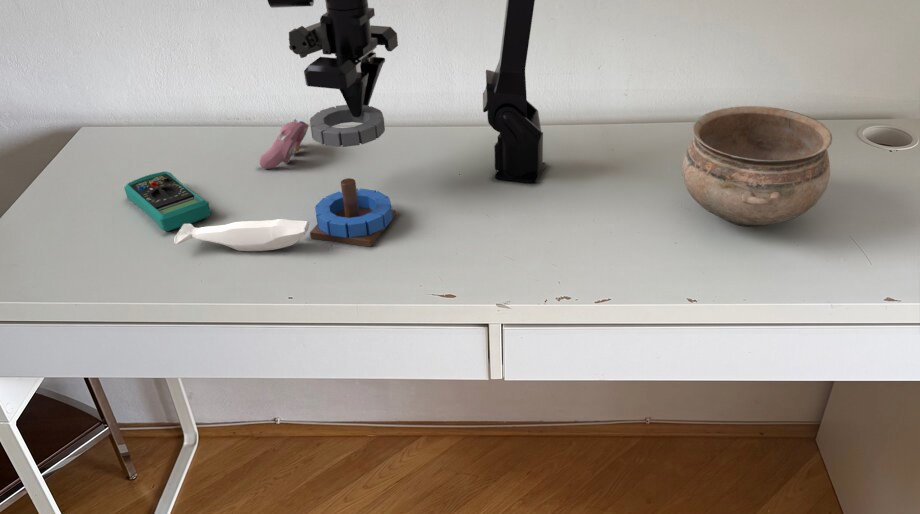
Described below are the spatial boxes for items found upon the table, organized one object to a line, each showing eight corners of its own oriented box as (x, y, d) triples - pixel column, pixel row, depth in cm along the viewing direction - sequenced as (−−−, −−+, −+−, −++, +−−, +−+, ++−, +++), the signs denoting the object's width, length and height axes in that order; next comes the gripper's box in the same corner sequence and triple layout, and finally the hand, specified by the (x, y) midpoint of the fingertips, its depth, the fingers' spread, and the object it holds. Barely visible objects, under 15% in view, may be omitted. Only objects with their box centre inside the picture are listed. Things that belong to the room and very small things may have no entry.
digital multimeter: (171, 183, 136) (166, 166, 134) (213, 217, 126) (209, 199, 125) (125, 199, 132) (120, 181, 131) (165, 235, 123) (160, 216, 121)
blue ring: (403, 206, 125) (401, 193, 124) (373, 241, 117) (372, 228, 116) (337, 197, 128) (335, 185, 127) (304, 231, 120) (302, 219, 119)
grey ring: (395, 121, 129) (394, 107, 128) (366, 150, 121) (364, 136, 120) (331, 114, 132) (329, 101, 130) (299, 142, 124) (296, 129, 123)
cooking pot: (834, 266, 110) (856, 177, 103) (680, 258, 113) (691, 171, 106) (804, 176, 130) (821, 97, 123) (674, 172, 133) (683, 94, 125)
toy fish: (306, 258, 116) (301, 232, 114) (175, 257, 118) (168, 231, 116) (315, 238, 121) (311, 212, 118) (189, 236, 122) (182, 211, 120)
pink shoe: (282, 180, 139) (294, 144, 135) (255, 167, 138) (267, 130, 134) (304, 154, 147) (316, 119, 142) (279, 141, 146) (291, 106, 142)
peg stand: (395, 215, 125) (391, 170, 121) (370, 247, 118) (364, 200, 114) (338, 208, 127) (332, 163, 123) (310, 238, 121) (302, 192, 117)
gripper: (324, -18, 129) (338, 86, 138) (260, 21, 115) (280, 133, 124) (394, -13, 126) (403, 92, 135) (337, 27, 112) (351, 141, 121)
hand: (359, 113), depth 129 cm, fingers closed on grey ring, 2 cm apart
